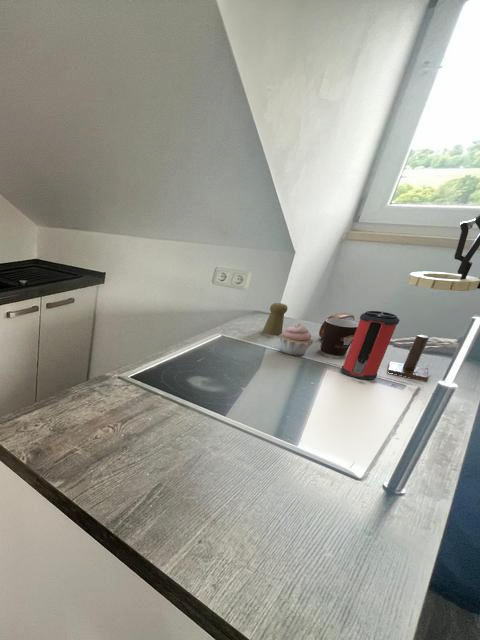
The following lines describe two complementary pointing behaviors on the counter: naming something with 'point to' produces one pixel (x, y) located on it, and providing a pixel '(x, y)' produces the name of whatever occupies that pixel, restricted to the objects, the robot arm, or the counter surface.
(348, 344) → the coffee mug
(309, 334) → the cupcake
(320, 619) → the counter surface
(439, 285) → the tape
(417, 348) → the peg stand
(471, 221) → the robot arm
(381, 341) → the speaker
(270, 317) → the cork
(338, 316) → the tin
